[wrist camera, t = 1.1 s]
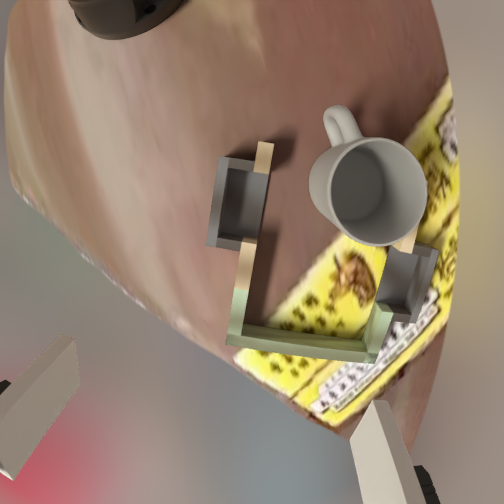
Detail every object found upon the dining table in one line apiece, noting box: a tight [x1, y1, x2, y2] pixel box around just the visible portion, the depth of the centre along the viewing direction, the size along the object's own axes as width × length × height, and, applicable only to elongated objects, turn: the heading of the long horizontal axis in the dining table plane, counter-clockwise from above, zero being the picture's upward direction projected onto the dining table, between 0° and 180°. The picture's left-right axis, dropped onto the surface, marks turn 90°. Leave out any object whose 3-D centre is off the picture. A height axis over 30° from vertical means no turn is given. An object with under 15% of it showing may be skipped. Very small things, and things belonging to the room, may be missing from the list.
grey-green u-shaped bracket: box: [206, 141, 439, 364], centre depth 33 cm, size 22×25×3 cm
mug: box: [309, 105, 427, 247], centre depth 27 cm, size 12×8×11 cm
